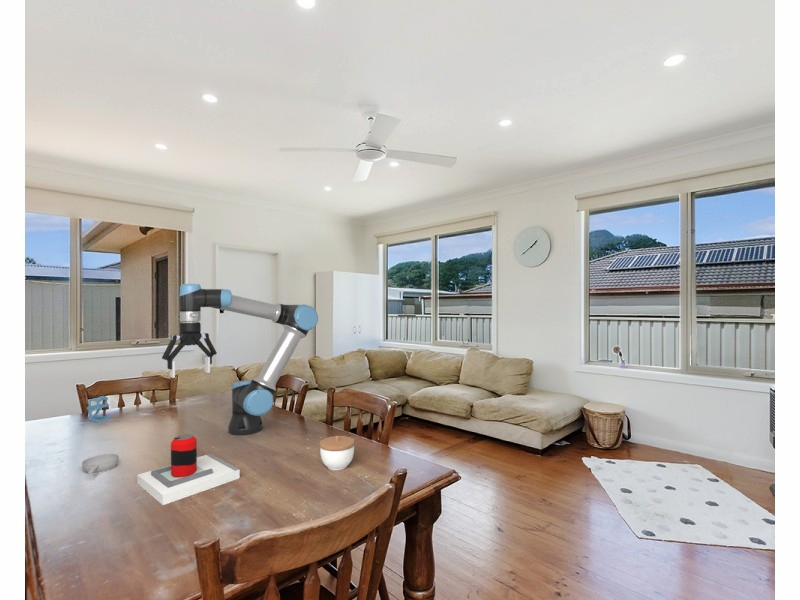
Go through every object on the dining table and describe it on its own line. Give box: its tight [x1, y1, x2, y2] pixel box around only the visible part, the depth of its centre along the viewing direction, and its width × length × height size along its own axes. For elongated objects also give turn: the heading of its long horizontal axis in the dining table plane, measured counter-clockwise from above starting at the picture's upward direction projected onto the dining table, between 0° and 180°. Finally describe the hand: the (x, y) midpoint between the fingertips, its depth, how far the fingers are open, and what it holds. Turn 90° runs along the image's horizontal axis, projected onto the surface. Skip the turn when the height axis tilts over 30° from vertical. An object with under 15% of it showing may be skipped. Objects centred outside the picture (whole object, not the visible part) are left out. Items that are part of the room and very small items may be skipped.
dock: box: [137, 453, 241, 506], centre depth 137 cm, size 24×22×4 cm
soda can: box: [170, 433, 198, 478], centre depth 136 cm, size 8×8×12 cm
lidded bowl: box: [319, 435, 355, 471], centre depth 149 cm, size 13×13×11 cm
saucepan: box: [81, 453, 120, 474], centre depth 144 cm, size 11×18×4 cm, turn 23°
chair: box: [86, 395, 112, 423], centre depth 209 cm, size 8×8×12 cm
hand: (190, 374), depth 165 cm, fingers open, 13 cm apart
